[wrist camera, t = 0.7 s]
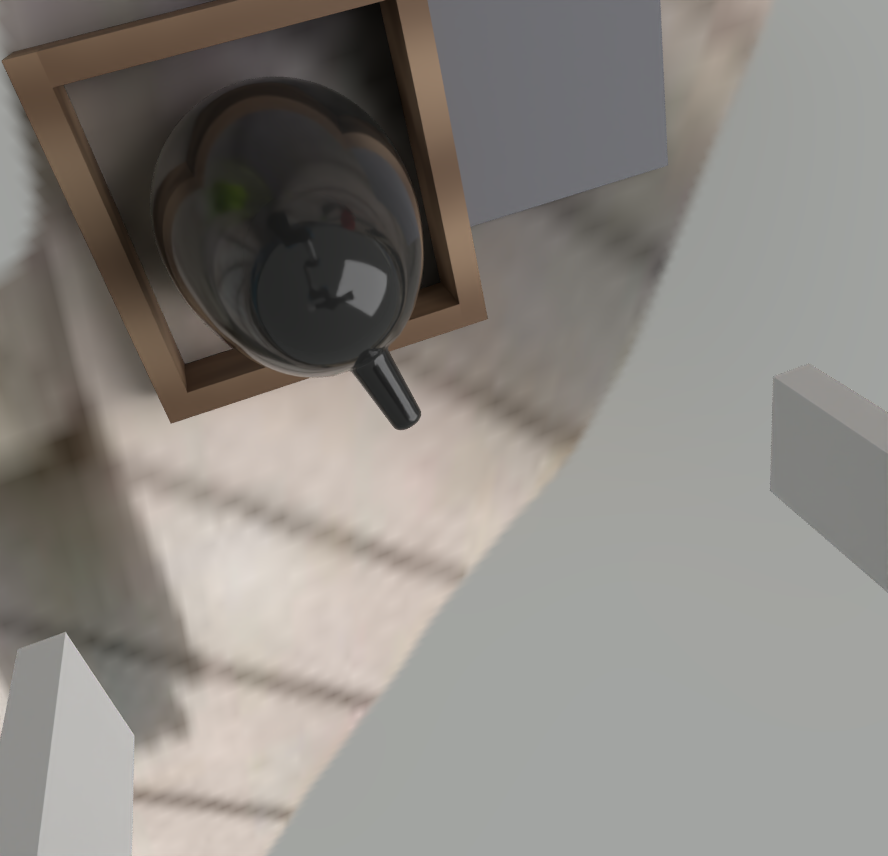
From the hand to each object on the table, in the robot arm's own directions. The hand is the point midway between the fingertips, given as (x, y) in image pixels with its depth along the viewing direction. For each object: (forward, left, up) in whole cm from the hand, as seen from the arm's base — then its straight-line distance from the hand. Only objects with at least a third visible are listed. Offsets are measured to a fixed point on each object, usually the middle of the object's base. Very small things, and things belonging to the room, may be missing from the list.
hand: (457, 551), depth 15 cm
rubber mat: (-2, +13, -26) cm, 29 cm away
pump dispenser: (0, 0, -26) cm, 26 cm away
